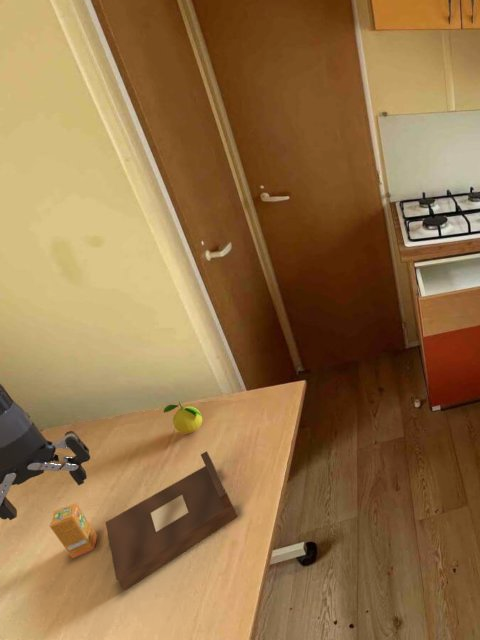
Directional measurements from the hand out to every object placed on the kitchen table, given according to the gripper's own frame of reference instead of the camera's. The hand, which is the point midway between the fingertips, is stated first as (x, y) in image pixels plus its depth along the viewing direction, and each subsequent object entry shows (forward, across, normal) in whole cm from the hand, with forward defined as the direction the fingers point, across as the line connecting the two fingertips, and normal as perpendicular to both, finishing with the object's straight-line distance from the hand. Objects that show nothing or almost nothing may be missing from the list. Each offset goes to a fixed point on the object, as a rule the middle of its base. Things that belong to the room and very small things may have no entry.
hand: (49, 497), depth 75 cm
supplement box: (+15, 0, 0) cm, 15 cm away
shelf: (+15, +13, -8) cm, 21 cm away
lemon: (+15, +21, +17) cm, 31 cm away
